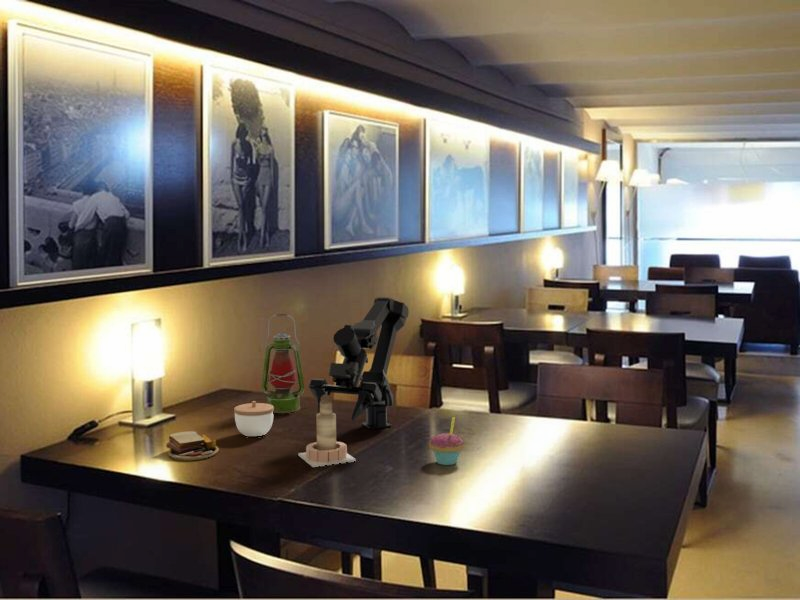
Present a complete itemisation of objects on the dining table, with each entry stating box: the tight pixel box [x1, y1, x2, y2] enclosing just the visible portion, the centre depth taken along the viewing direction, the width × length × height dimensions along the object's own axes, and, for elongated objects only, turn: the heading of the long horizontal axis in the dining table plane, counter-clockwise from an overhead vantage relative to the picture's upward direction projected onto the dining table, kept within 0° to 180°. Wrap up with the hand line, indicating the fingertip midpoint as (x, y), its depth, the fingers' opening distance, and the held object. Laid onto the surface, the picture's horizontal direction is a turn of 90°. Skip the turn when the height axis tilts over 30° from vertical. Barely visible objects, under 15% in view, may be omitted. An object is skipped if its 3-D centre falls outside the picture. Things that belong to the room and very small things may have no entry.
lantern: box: [261, 313, 305, 412], centre depth 258 cm, size 14×11×30 cm
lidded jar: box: [233, 400, 274, 436], centre depth 230 cm, size 11×11×9 cm
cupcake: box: [428, 414, 466, 466], centre depth 203 cm, size 9×8×12 cm
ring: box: [297, 440, 357, 468], centre depth 207 cm, size 11×11×3 cm
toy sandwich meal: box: [166, 431, 220, 461], centre depth 212 cm, size 12×14×5 cm
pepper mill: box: [315, 394, 337, 450], centre depth 207 cm, size 5×5×16 cm
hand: (336, 418), depth 212 cm, fingers open, 9 cm apart
